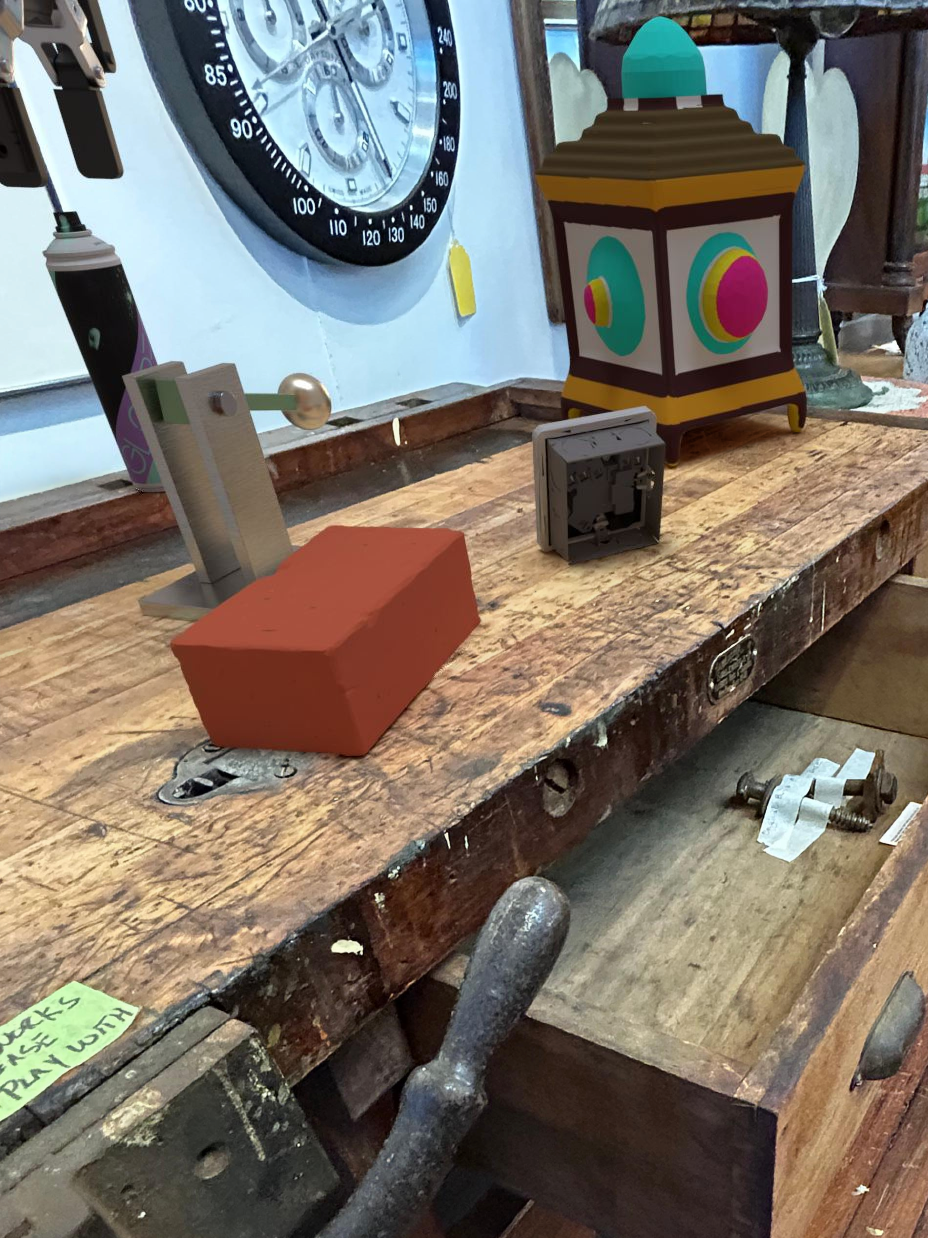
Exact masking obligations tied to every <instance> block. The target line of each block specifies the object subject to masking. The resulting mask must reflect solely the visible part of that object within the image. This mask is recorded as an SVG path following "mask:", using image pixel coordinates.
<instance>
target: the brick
mask: <svg viewBox="0 0 928 1238" xmlns="http://www.w3.org/2000/svg"><path fill="white" fill-rule="evenodd" d="M466 543H467V542H466V537H465V532H464V531H461V530H453V529H450V528H448V527H402V526H401V527H391V526H372V525H371V526H350V525H342V524H333V525H328V526H326V527H325V528H324V529H322V530H321V531H319V533H317V534H315V535H314V536H313V537H311V538H310V539H309V541H307V542H306V543H305V544H304V545H301V546H302V547H301V548H299V549H298V550H296V551H295V552H293V553H292V554H291V555H290V556H288V557H287V558H286V559H285V560H284V561H283V562H282V563H281V564H280V565H279V567H278V569H277V572H276V574H274V575H272V576H268V577H264V578H259V579H257V580H256V581H254V582H253V583H252V584H250V585H248V586H247V587H246V588H244V589H242V590H241V591H240V592H238V593H237V594H235V595H234V596H232V597H231V598H229V599H228V600H226V601H225V602H223V603H222V604H220V605H219V606H218V607H216V608H215V609H214V610H212V611H211V612H209V613H208V614H207V615H205V616H204V617H202V618H201V619H200V620H198V621H195V622H194V623H193V624H191V625H190V626H188V627H187V628H186V629H185V630H184V631H183V632H181V633H179V634H178V635H175V637H173V638H172V639H171V640H170V644H169V647H170V650H171V652H172V654H173V656H174V658H175V659H176V660H177V661H178V662H179V665H180V670H181V672H182V673H181V674H182V675H183V679H184V680H185V683H186V685H187V687H188V692H189V693H190V696H191V699H192V701H193V704H194V707H195V708H196V709H197V712H198V714H199V718H200V720H201V723H202V726H203V727H204V728H205V730H206V732H207V735H208V737H209V740H210V743H211V744H213V745H214V746H216V747H219V748H235V749H251V750H252V749H253V750H267V751H284V752H285V751H289V752H299V753H315V754H317V753H321V754H334V755H335V754H336V755H341V756H346V757H352V756H355V757H361V756H365V755H366V754H368V753H369V752H370V750H371V748H372V747H373V746H374V745H375V744H376V743H378V741H379V738H380V737H381V736H383V734H384V733H385V732H386V730H388V728H389V727H391V725H392V724H393V723H394V722H395V720H397V718H398V717H399V716H400V715H401V714H402V712H403V711H404V710H405V708H407V707H408V706H409V704H410V703H411V702H412V701H413V700H414V699H415V697H416V696H418V694H419V693H420V692H421V691H422V690H423V689H424V688H426V686H427V685H428V684H429V683H430V682H431V681H432V680H433V678H434V677H435V675H436V674H437V673H438V672H439V671H440V670H441V669H442V668H443V666H444V664H445V663H446V662H447V661H448V660H449V659H450V658H451V656H452V655H453V654H454V653H455V652H456V651H457V649H458V648H459V647H460V646H461V645H462V644H463V643H464V642H465V641H466V640H467V638H468V637H469V636H470V635H471V634H472V633H473V631H474V630H475V629H476V628H477V627H478V626H479V625H480V624H481V622H482V618H481V617H480V613H479V609H478V606H479V605H478V602H477V599H476V598H477V597H476V594H475V590H474V585H473V580H472V576H473V575H472V569H471V563H470V558H469V557H470V556H469V553H468V547H467V544H466Z"/></svg>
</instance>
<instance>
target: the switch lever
mask: <svg viewBox="0 0 928 1238" xmlns="http://www.w3.org/2000/svg"><path fill="white" fill-rule="evenodd" d="M155 382H156V387H157V391H158V396H159V401H160V405H161V410H162V414H163V419H164V422H165V423H173V424H190V422H189V419H188V416H187V413H186V410H185V407H184V404H183V401H182V399H181V396H180V393H179V390H178V387H177V384H176V381H175V379H155ZM244 394H245V397H246V400H247V403H248V406H249V410H250V412H254V411H255V412H256V411H257V412H260V411H261V412H262V411H281V413H282V415H283V417H284V418H285V419H286V420H287V421H288V422H289V423H290V424H291V425H293V426H294V427H296V428H298V429H300V430H304V431H315V430H319V429H320V428H322V427H323V426H325V425H326V424H327V422H328V420H329V419H330V417H331V415H332V399H331V397H330V394H329V392H328V389H327V388H326V387H325V385H324V384H323V383H322V382H321V381H320V380H319V379H318V378H317V377H315V376H313V375H311V374H309V373H304V372H294V373H291V374H289V375H286V377H284V378H283V379H282V381H281V382H280V384H279V386H278V389H277V393H273V392H270V393H269V392H244ZM190 425H191V424H190Z"/></svg>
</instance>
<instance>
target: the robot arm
mask: <svg viewBox="0 0 928 1238" xmlns="http://www.w3.org/2000/svg"><path fill="white" fill-rule="evenodd" d="M87 31H88V35H89V38H90V41H89V39H88V37H87V35H86V32H87ZM17 38H18V39H19V40H20V41H21V42H23V43H25V44H27V45H29V46H30V47H31V48H32V49H33V51H34V53H35V55H36V56H37V58H38V60H39V62H40V63H41V65H42V67H43V69H44V70H45V73H46V74H47V76H48V77H49V79H50V82H51V83H52V85H54V86H55V87H56V88H53V89H52V90H53V94H54V97H55V100H56V103H57V106H58V110H59V113H60V117H61V120H62V123H63V126H64V129H65V132H66V136H67V139H68V140H67V141H68V143H69V146H70V150H71V152H72V155H73V159H74V162H75V165H76V169H77V170H78V172H79V174H80V175H81V176H83V177H84V178H86V179H91V180H92V179H95V180H119V179H121V178H123V176H124V173H125V172H124V171H125V169H124V165H123V162H122V158H121V155H120V152H119V148H118V144H117V141H116V136H115V133H114V130H113V127H112V123H111V119H110V115H109V113H108V109H107V105H106V102H105V99H104V94H103V91H102V90H101V89H105V88H106V86H107V79H106V74H115V73H116V72H117V62H116V58H115V55H114V51H113V47H112V44H111V41H110V37H109V33H108V31H107V27H106V23H105V21H104V17H103V13H102V10H101V7H100V3H99V0H0V185H2V186H4V187H6V188H25V189H38V188H44V187H46V186H47V184H48V182H49V176H48V173H47V170H46V166H45V164H44V160H43V157H42V154H41V151H40V147H39V145H38V141H37V139H36V135H35V133H34V129H33V126H32V123H31V120H30V117H29V113H28V110H27V107H26V104H25V100H24V98H23V95H22V92H21V91H22V90H21V88H20V87H10V86H9V84H10V85H11V84H14V83H15V58H14V57H15V54H14V53H15V52H14V51H15V50H14V42H15V41H16V39H17ZM54 45H55V46H54ZM57 87H58V88H57Z"/></svg>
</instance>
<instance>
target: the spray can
mask: <svg viewBox="0 0 928 1238" xmlns="http://www.w3.org/2000/svg"><path fill="white" fill-rule="evenodd" d="M52 215H53V217H54V221H55V223H56V226H55V227H54V228H55V231H52V236H53V237H54V238H53V240H52V241H51V242H50V243H49V244H48V246H47V248H45V249H44V250H42V252H41V253H42V255H43V257H44V258H46V260H45V267H46V269H47V272H48V274H49V277H50V279H51V281H52V284H53V287H54V289H55V292H56V294H57V297H58V299H59V302H60V304H61V307H62V309H63V312H64V315H65V317H66V320H67V322H68V324H69V327H70V330H71V333H72V335H73V337H74V340H75V343H76V345H77V348H78V350H79V352H80V355H81V357H82V361H83V362H84V365H85V367H86V370H87V372H88V375H89V377H90V380H91V383H92V385H93V388H94V390H95V393H96V395H97V398H98V400H99V403H100V405H101V407H102V411H103V413H104V415H105V418H106V420H107V423H108V426H109V428H110V430H111V433H112V435H113V438H114V440H115V443H116V445H117V448H118V450H119V453H120V456H121V458H122V461H123V463H124V466H125V469H126V471H127V473H128V476H129V478H130V481H131V483H132V485H133V488H134V487H135V488H137V489H139V490H141V491H142V493H162V492H164V493H165V492H166V491H165V489H164V486H163V483H162V481H161V478H160V476H159V473H158V470H157V468H156V465H155V462H154V460H153V457H152V454H151V452H150V449H149V447H148V444H147V441H146V439H145V436H144V433H143V431H142V428H141V425H140V423H139V420H138V418H137V415H136V412H135V410H134V407H133V404H132V402H131V399H130V396H129V394H128V391H127V388H126V386H125V383H124V381H123V378H122V376H123V375H127V374H130V373H133V372H137V371H140V370H143V369H147V368H150V367H153V366H156V365H159V364H158V360H157V357H156V356H155V353H154V351H153V348H152V343H151V342H150V339H149V336H148V334H147V330H146V328H145V324H144V322H143V318H142V316H141V313H140V311H139V308H138V305H137V303H136V300H135V297H134V294H133V291H132V288H131V286H130V285H131V284H130V282H129V280H128V277H127V275H126V272H125V268H124V266H123V262H122V260H121V258H120V256H118V255H117V253H116V247H115V245H113V244H109V243H108V242H106V241H104V240H103V239H101V238H99V237H98V236H96V235H93V231H92V229H90V228H87V226H86V224H83V223H82V221H81V219H80V216H79V214H78V211H76V210H74V211H73V210H72V211H53V212H52ZM135 488H134V489H135ZM141 491H140V492H141Z"/></svg>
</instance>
